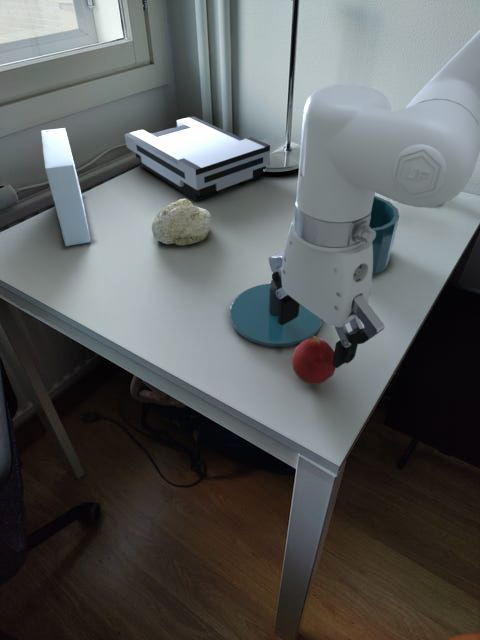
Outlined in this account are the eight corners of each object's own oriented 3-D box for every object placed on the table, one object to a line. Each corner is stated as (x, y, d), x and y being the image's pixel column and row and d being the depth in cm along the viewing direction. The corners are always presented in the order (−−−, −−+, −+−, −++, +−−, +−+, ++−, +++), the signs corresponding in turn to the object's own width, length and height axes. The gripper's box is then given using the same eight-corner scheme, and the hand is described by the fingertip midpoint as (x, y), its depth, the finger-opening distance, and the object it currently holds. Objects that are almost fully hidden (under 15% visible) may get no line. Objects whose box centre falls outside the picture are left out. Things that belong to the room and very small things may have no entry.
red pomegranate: (336, 369, 65) (344, 327, 60) (328, 400, 61) (336, 358, 56) (296, 360, 66) (300, 318, 61) (285, 390, 62) (289, 348, 57)
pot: (403, 259, 85) (415, 212, 79) (353, 288, 79) (362, 240, 73) (347, 230, 93) (354, 186, 87) (298, 254, 87) (302, 208, 81)
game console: (194, 141, 131) (192, 111, 125) (269, 179, 112) (270, 145, 106) (129, 161, 121) (123, 129, 116) (198, 205, 102) (195, 169, 97)
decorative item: (182, 243, 83) (144, 207, 84) (177, 269, 91) (143, 236, 92) (228, 210, 88) (191, 178, 90) (219, 238, 96) (186, 207, 98)
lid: (341, 321, 73) (347, 287, 68) (271, 364, 66) (273, 329, 62) (279, 278, 81) (281, 246, 77) (212, 312, 75) (209, 279, 70)
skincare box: (94, 242, 91) (73, 164, 81) (65, 247, 90) (41, 169, 80) (83, 196, 106) (64, 125, 96) (59, 201, 105) (37, 129, 94)
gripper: (425, 244, 44) (387, 365, 55) (299, 181, 54) (289, 295, 66) (373, 272, 41) (345, 396, 52) (249, 200, 51) (248, 317, 62)
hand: (314, 339), depth 59 cm, fingers open, 9 cm apart
